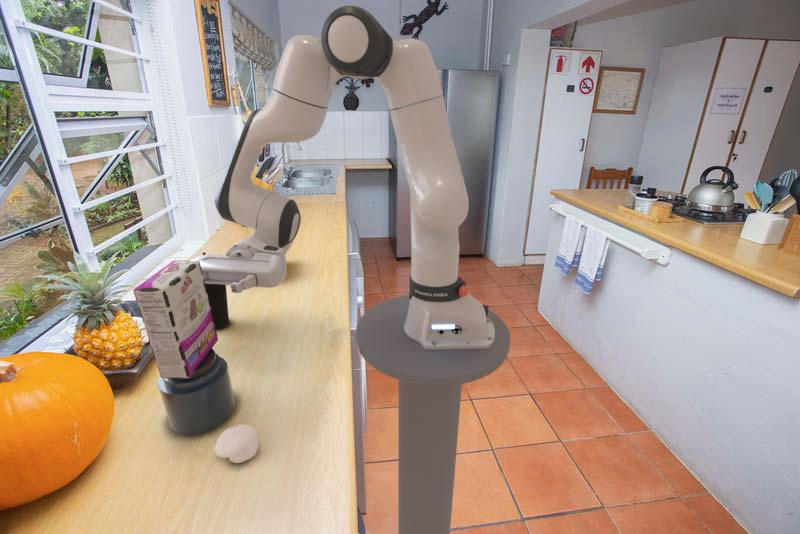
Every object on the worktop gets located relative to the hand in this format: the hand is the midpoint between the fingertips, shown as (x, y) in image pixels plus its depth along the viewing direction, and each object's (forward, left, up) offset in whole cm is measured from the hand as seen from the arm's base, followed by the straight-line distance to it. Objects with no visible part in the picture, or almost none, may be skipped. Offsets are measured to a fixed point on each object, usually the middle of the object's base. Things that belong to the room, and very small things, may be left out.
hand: (211, 287), depth 72 cm
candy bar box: (0, +9, -10) cm, 13 cm away
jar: (0, +9, -21) cm, 23 cm away
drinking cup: (+15, -20, -22) cm, 33 cm away
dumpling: (-11, +16, -22) cm, 29 cm away
